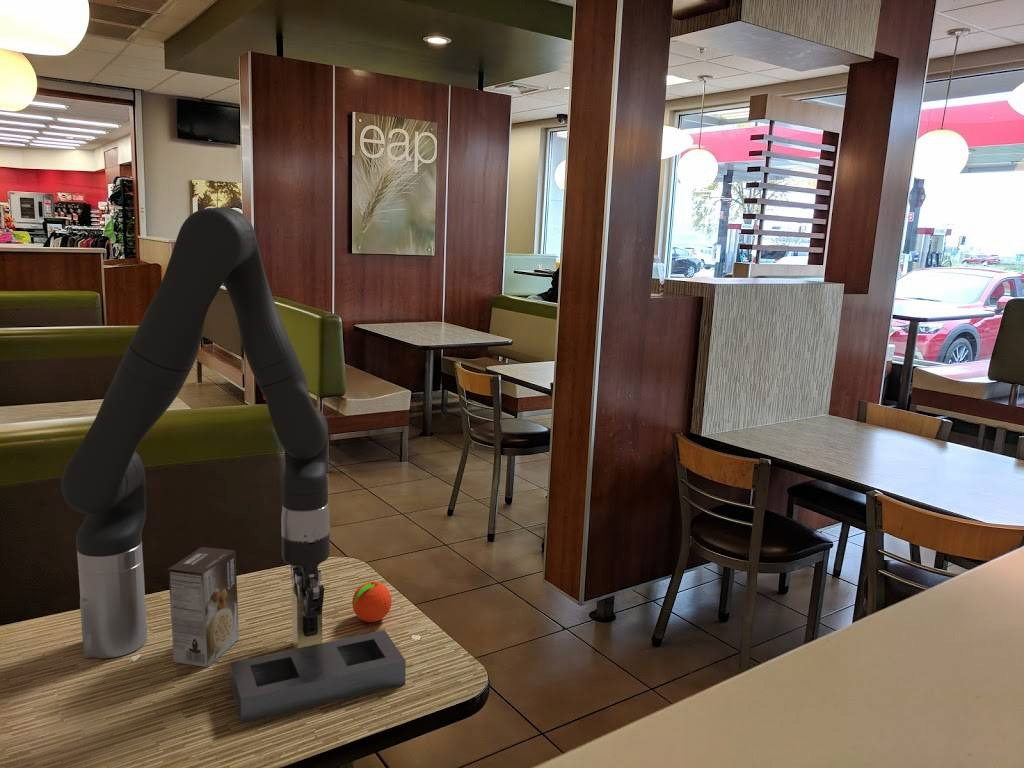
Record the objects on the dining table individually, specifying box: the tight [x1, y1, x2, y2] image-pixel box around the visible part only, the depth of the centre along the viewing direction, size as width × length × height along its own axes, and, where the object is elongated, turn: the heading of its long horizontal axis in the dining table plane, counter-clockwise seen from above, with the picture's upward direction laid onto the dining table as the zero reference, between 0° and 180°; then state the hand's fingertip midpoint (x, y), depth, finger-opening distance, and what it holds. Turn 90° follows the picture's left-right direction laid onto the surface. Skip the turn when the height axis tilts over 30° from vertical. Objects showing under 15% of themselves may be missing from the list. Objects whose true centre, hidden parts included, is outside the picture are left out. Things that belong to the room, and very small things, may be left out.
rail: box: [229, 629, 407, 725], centre depth 117 cm, size 24×10×4 cm, turn 118°
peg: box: [291, 586, 323, 649], centre depth 127 cm, size 4×4×10 cm
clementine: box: [351, 581, 393, 623], centre depth 136 cm, size 8×7×7 cm
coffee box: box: [167, 546, 240, 668], centre depth 124 cm, size 9×6×16 cm
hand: (307, 627), depth 127 cm, fingers closed on peg, 4 cm apart
